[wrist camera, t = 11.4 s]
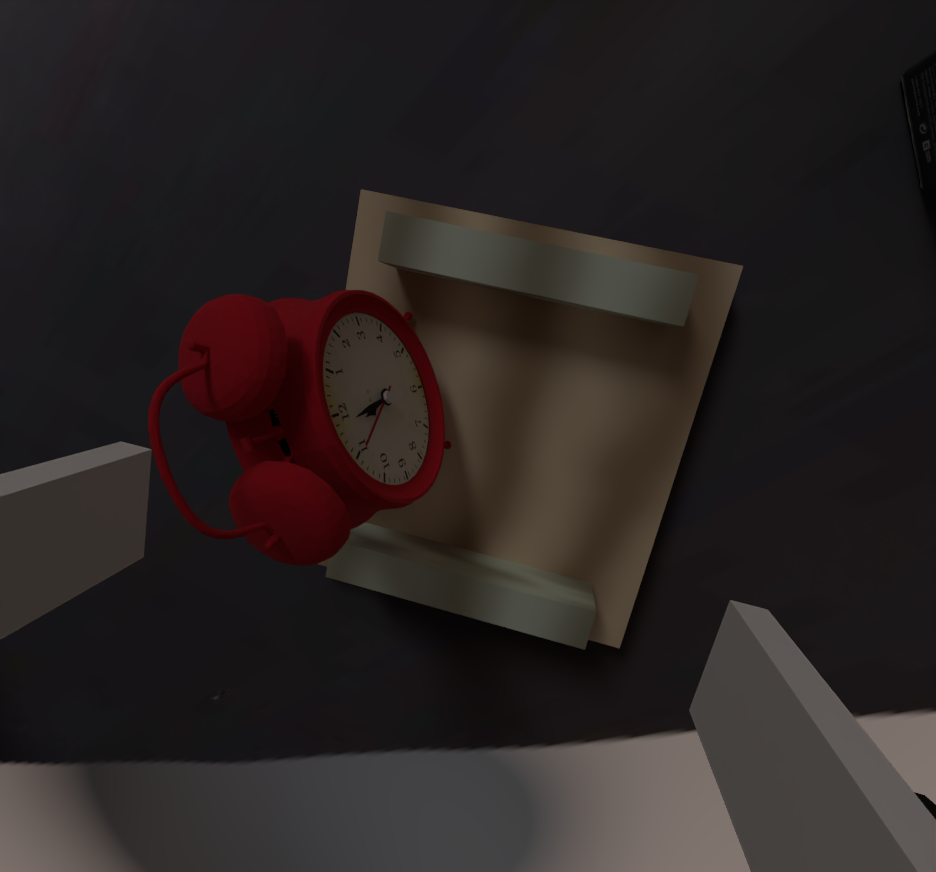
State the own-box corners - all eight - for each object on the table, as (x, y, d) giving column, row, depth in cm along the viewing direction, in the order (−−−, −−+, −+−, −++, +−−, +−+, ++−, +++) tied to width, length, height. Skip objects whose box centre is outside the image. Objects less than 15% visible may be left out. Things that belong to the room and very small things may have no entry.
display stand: (321, 543, 33) (279, 584, 28) (376, 201, 29) (337, 171, 23) (614, 623, 32) (627, 683, 26) (725, 271, 27) (769, 257, 21)
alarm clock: (471, 467, 28) (391, 614, 14) (367, 494, 30) (193, 654, 15) (414, 278, 27) (255, 219, 12) (307, 315, 28) (47, 300, 13)
